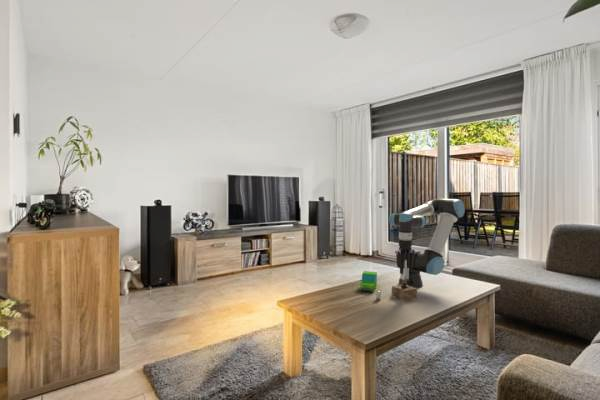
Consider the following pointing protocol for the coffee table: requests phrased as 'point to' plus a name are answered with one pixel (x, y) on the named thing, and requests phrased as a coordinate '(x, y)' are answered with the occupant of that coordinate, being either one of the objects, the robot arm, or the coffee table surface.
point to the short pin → (378, 295)
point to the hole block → (404, 292)
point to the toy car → (368, 281)
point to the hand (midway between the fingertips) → (404, 278)
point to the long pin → (405, 274)
